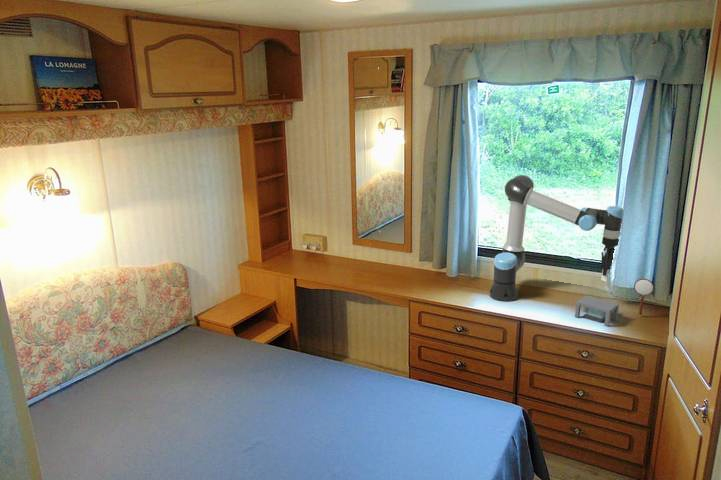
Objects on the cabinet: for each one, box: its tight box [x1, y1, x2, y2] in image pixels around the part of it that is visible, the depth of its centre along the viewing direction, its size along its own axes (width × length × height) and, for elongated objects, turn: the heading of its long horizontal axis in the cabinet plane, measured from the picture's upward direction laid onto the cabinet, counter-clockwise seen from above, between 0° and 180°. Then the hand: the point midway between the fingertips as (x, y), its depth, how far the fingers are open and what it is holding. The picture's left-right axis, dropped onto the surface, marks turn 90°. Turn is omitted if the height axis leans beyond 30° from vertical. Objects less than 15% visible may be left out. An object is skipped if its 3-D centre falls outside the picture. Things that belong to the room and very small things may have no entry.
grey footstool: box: [574, 295, 620, 328], centre depth 260 cm, size 16×12×8 cm
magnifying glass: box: [633, 278, 655, 317], centre depth 259 cm, size 9×2×20 cm, turn 57°
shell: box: [586, 307, 612, 321], centre depth 262 cm, size 12×7×6 cm, turn 135°
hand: (604, 280), depth 273 cm, fingers closed
